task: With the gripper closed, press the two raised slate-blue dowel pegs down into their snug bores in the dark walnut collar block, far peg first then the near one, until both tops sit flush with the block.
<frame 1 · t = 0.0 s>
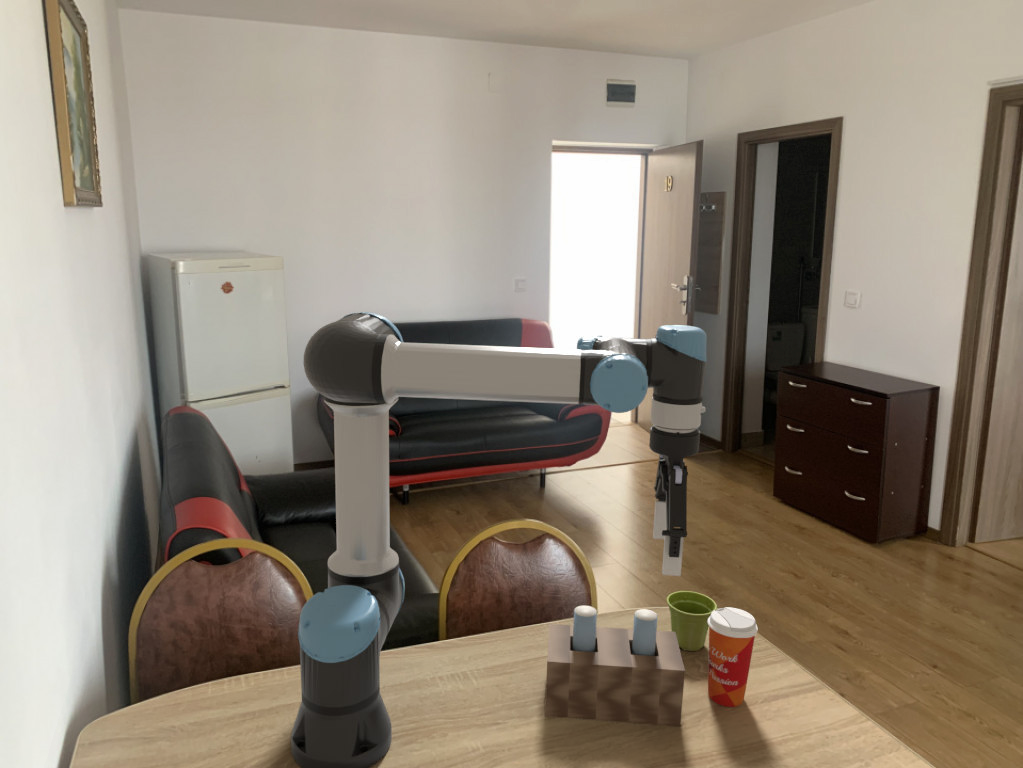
hand: (665, 555, 124), 28 cm above the table, fingers open, 13 cm apart
coffee cup: (725, 697, 134), on the table
plant pot: (688, 644, 151), on the table
peg far: (644, 642, 130), point 11 cm above the table, slide at 6.0 cm
collar block: (610, 699, 132), on the table
peg near: (584, 638, 130), point 11 cm above the table, slide at 6.0 cm
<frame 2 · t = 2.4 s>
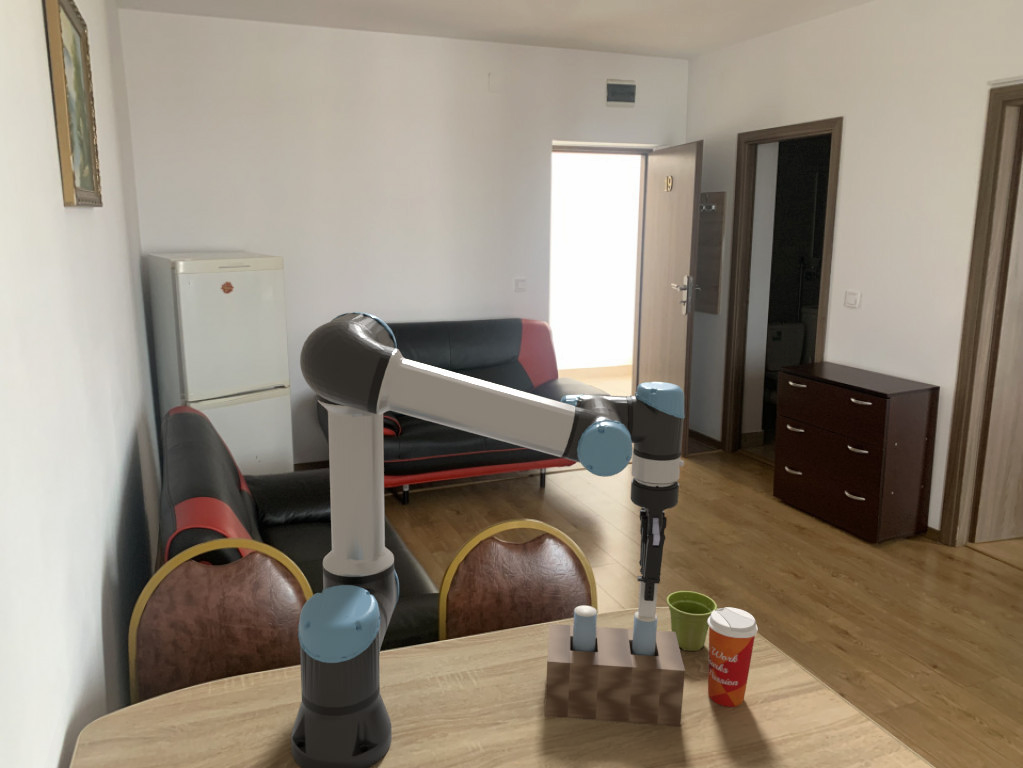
hand: (646, 614, 129), 16 cm above the table, fingers closed
peg far: (644, 643, 130), point 11 cm above the table, slide at 5.8 cm, touching gripper
everything else where it was.
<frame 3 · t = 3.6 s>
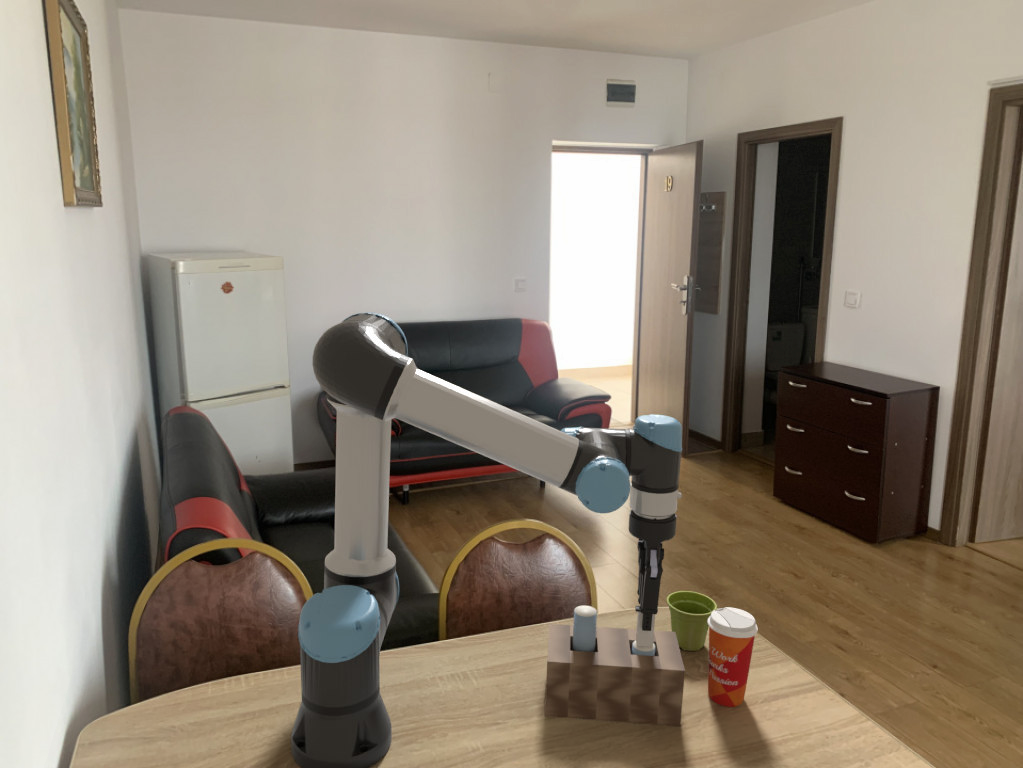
hand: (644, 643, 130), 11 cm above the table, fingers closed
peg far: (642, 672, 131), point 6 cm above the table, slide at 0.4 cm, touching gripper
everything else where it was.
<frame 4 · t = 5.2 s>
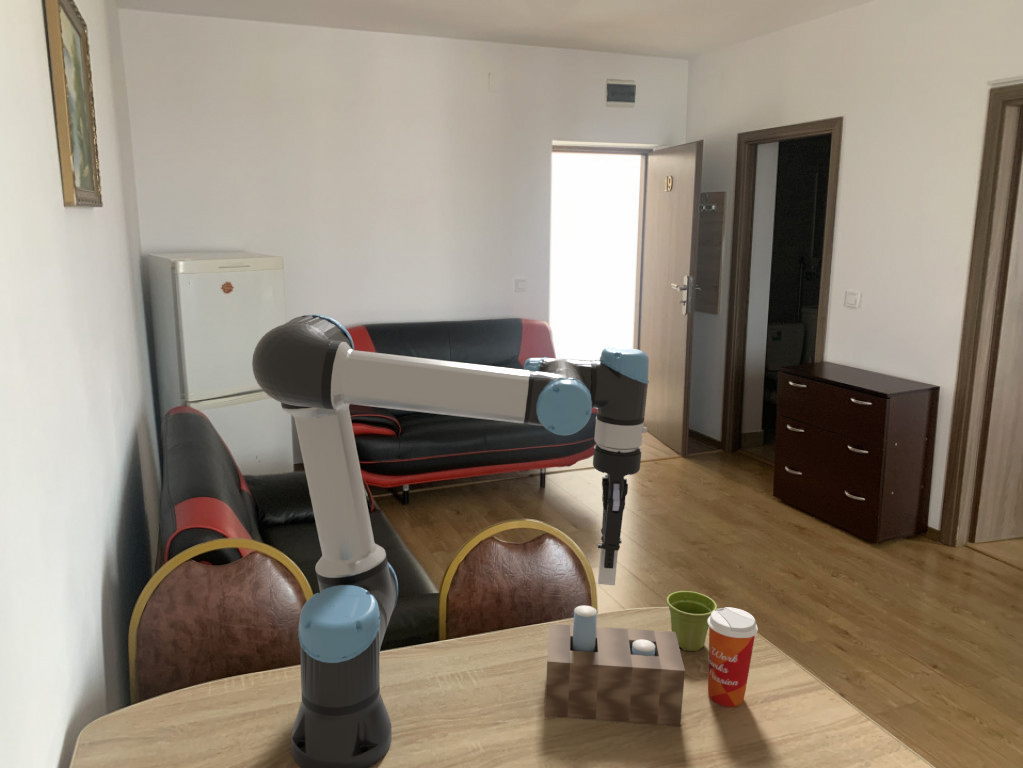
hand: (606, 582, 128), 21 cm above the table, fingers closed
peg far: (642, 672, 131), point 5 cm above the table, slide at 0.4 cm
everything else where it was.
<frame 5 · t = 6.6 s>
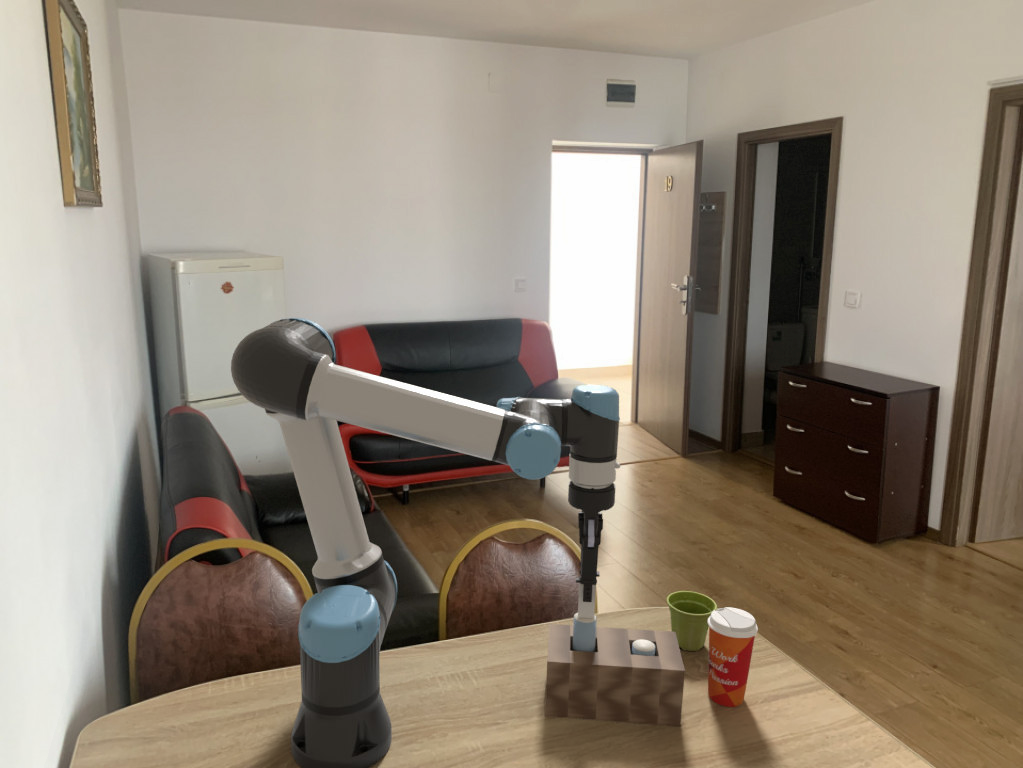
hand: (586, 615, 130), 15 cm above the table, fingers closed
peg near: (583, 644, 131), point 10 cm above the table, slide at 4.9 cm, touching gripper
everything else where it was.
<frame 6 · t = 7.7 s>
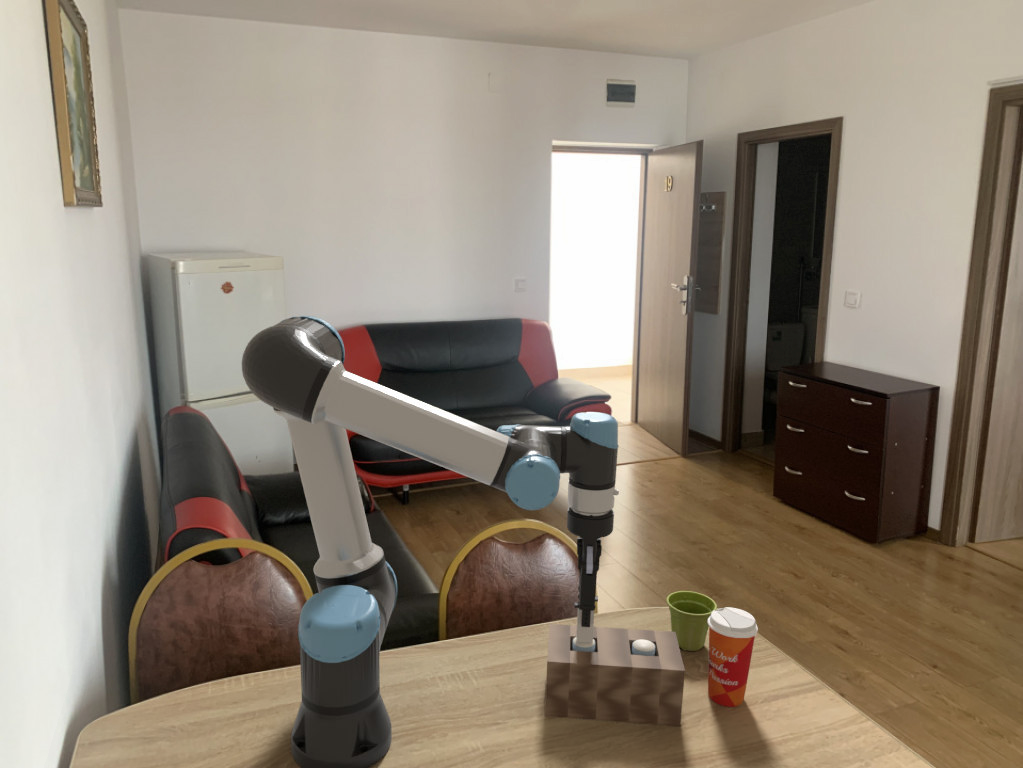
hand: (584, 640, 131), 11 cm above the table, fingers closed
peg near: (582, 668, 132), point 5 cm above the table, slide at 0.4 cm, touching gripper
everything else where it was.
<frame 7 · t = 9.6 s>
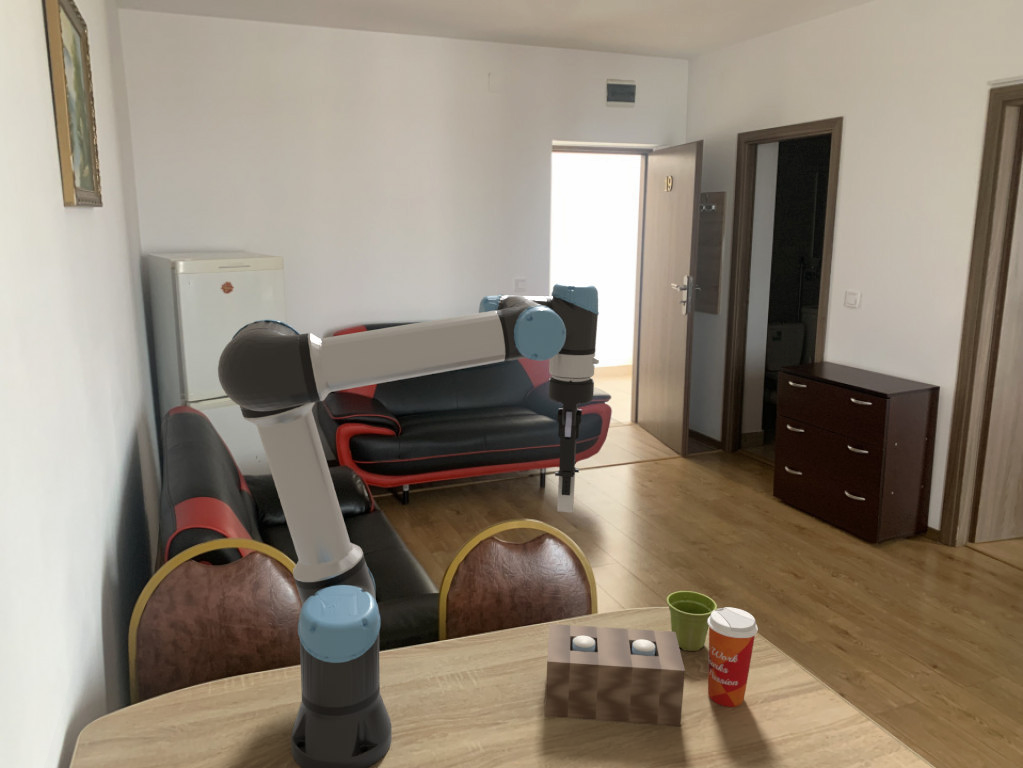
hand: (565, 510, 134), 31 cm above the table, fingers closed
peg near: (582, 668, 132), point 5 cm above the table, slide at 0.4 cm
everything else where it was.
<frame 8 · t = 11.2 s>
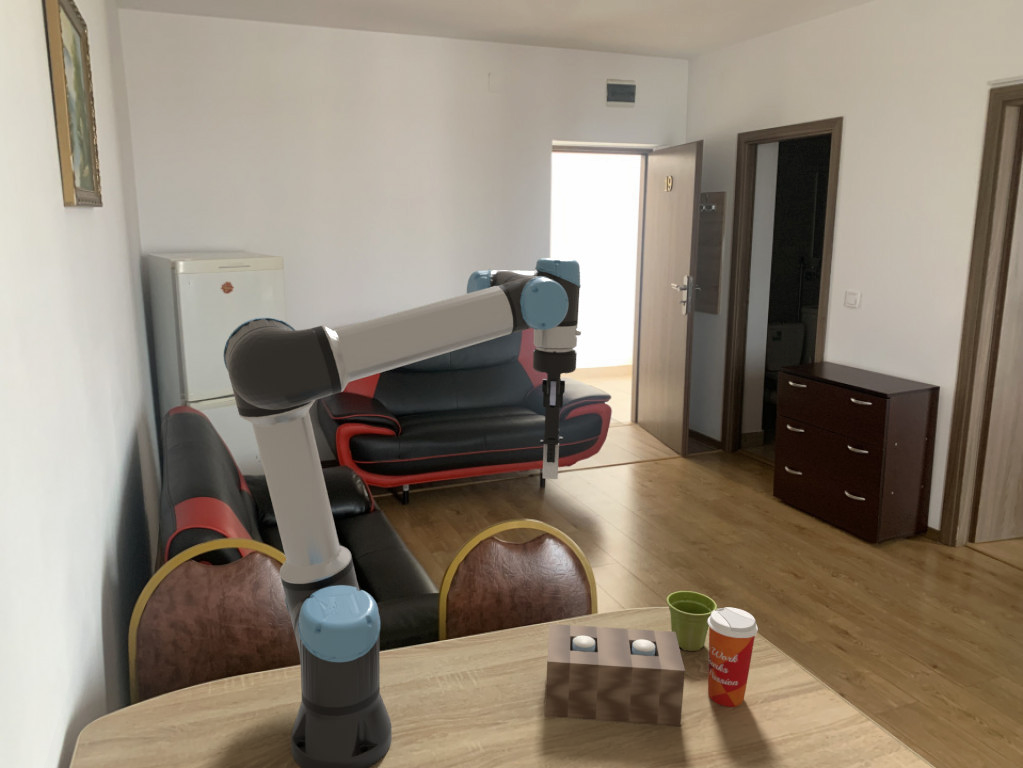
hand: (550, 477, 140), 34 cm above the table, fingers closed
nothing on the table moved.
at the end: peg far slide at 0.4 cm; peg near slide at 0.4 cm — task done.
